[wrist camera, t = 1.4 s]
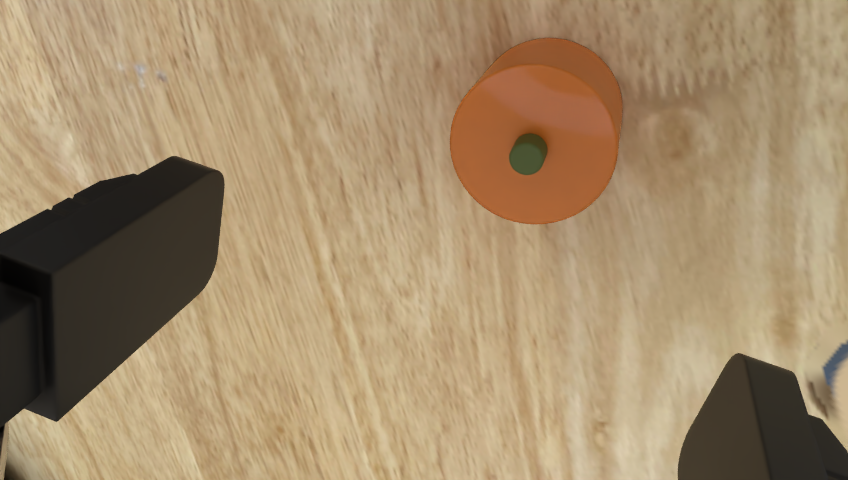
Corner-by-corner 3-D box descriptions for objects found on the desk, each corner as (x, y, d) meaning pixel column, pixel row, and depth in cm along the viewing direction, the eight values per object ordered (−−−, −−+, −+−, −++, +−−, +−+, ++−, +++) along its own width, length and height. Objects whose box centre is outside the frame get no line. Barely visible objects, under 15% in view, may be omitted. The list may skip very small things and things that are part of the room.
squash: (545, 4, 18) (521, 33, 15) (654, 109, 19) (656, 159, 15) (448, 113, 20) (407, 159, 17) (549, 206, 21) (530, 269, 17)
